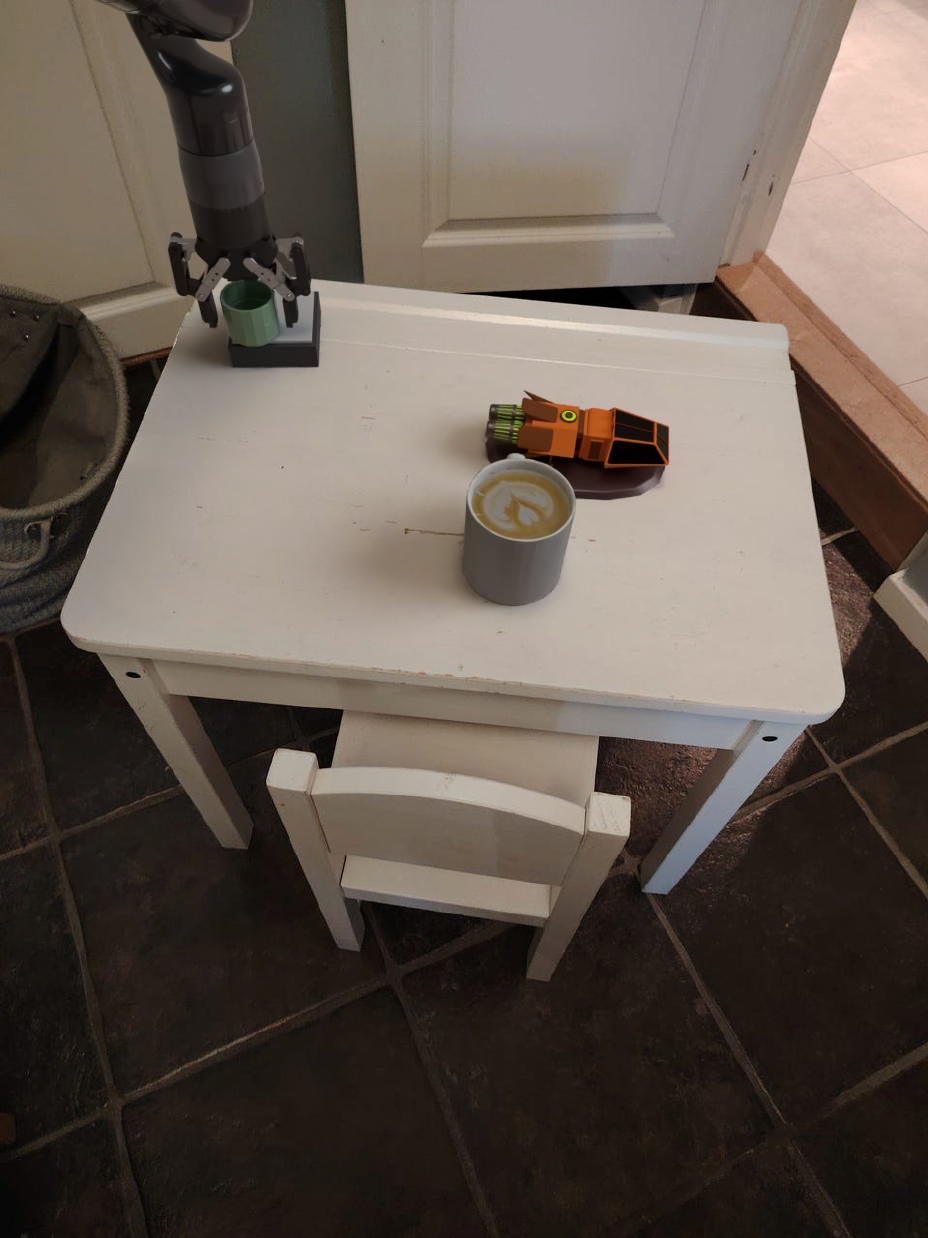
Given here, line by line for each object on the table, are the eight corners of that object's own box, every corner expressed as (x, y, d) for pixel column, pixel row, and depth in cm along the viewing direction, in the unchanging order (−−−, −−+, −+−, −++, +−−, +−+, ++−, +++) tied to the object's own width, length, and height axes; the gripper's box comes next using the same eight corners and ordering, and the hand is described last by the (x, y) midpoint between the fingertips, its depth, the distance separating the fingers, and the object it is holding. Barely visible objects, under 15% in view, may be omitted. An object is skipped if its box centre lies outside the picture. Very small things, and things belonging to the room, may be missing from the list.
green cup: (226, 349, 94) (217, 311, 90) (230, 315, 97) (222, 277, 93) (279, 349, 94) (272, 311, 90) (282, 315, 98) (275, 277, 93)
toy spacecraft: (665, 510, 88) (681, 467, 83) (478, 485, 89) (481, 441, 84) (665, 426, 95) (680, 382, 90) (491, 404, 96) (496, 359, 90)
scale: (232, 367, 97) (226, 343, 95) (239, 312, 103) (234, 288, 100) (318, 366, 98) (315, 343, 95) (321, 312, 103) (318, 288, 101)
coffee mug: (553, 613, 81) (569, 551, 72) (453, 595, 81) (456, 530, 73) (571, 510, 88) (587, 441, 79) (478, 493, 89) (484, 424, 80)
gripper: (144, 205, 79) (185, 345, 92) (296, 206, 80) (314, 344, 93) (154, 162, 83) (192, 302, 96) (300, 163, 84) (317, 302, 97)
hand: (252, 323), depth 95 cm, fingers open, 8 cm apart
